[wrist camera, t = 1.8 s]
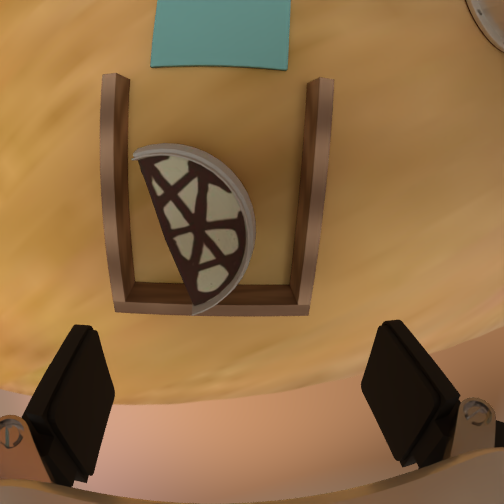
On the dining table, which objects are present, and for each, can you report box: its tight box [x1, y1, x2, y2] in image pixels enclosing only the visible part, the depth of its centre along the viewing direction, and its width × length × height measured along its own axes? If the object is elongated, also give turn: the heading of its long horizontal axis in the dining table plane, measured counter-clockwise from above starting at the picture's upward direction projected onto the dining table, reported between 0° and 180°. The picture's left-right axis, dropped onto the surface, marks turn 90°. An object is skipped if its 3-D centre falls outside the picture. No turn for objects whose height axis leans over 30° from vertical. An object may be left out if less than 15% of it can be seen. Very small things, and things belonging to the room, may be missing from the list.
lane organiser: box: [100, 73, 334, 316], centre depth 27 cm, size 21×18×4 cm
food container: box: [131, 143, 256, 316], centre depth 24 cm, size 12×6×10 cm, turn 16°
